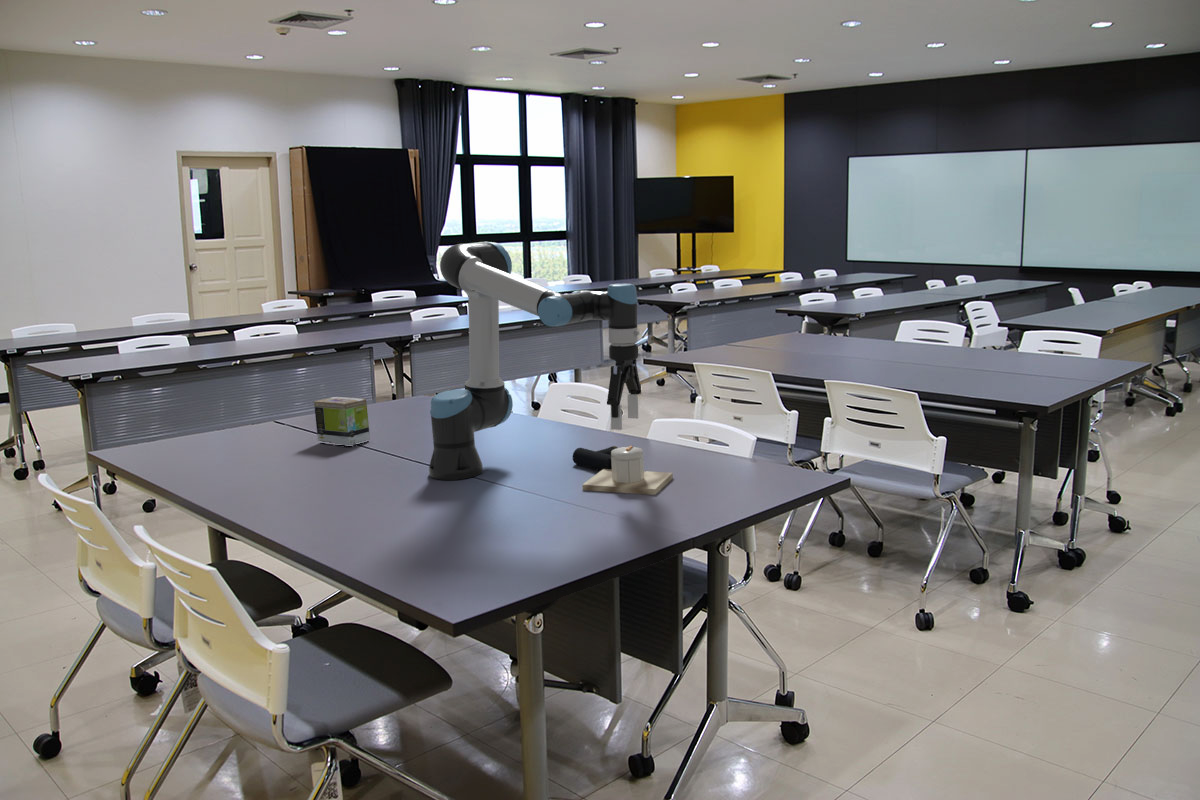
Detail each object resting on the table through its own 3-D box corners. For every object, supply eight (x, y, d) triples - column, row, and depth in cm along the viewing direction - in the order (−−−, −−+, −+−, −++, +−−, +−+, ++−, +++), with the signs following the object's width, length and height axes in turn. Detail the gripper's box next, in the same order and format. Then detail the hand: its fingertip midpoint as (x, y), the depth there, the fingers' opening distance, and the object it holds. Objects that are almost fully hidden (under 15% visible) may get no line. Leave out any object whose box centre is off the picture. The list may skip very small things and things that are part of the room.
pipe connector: (602, 441, 283) (636, 449, 272) (603, 458, 284) (637, 467, 273) (572, 449, 276) (605, 457, 265) (573, 466, 277) (606, 476, 266)
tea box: (371, 441, 318) (367, 398, 315) (348, 448, 310) (344, 403, 307) (339, 437, 326) (335, 395, 323) (316, 444, 318) (312, 400, 315)
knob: (638, 483, 249) (637, 454, 248) (608, 482, 252) (606, 452, 251) (647, 474, 257) (646, 445, 255) (618, 472, 260) (617, 444, 258)
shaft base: (582, 490, 251) (581, 466, 250) (603, 474, 266) (602, 451, 265) (655, 494, 244) (654, 470, 243) (672, 478, 259) (672, 454, 258)
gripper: (621, 351, 235) (623, 435, 239) (651, 337, 258) (652, 414, 262) (592, 350, 238) (595, 433, 242) (625, 337, 261) (626, 412, 265)
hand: (625, 423), depth 252 cm, fingers open, 13 cm apart
